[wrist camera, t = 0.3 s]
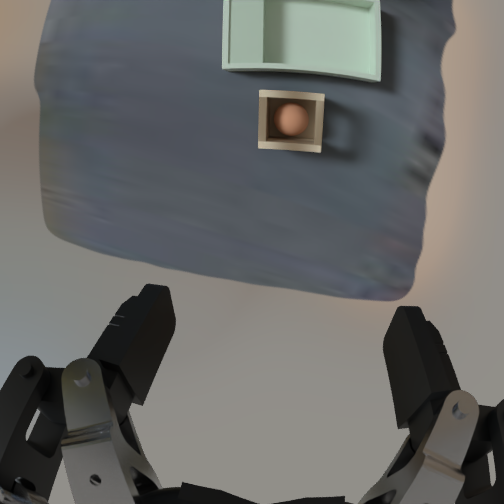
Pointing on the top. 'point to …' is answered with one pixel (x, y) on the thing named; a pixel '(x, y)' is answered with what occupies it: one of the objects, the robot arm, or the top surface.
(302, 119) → the ball
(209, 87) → the top surface
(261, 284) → the top surface
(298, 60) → the tray
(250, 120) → the top surface
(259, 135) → the open wooden box
